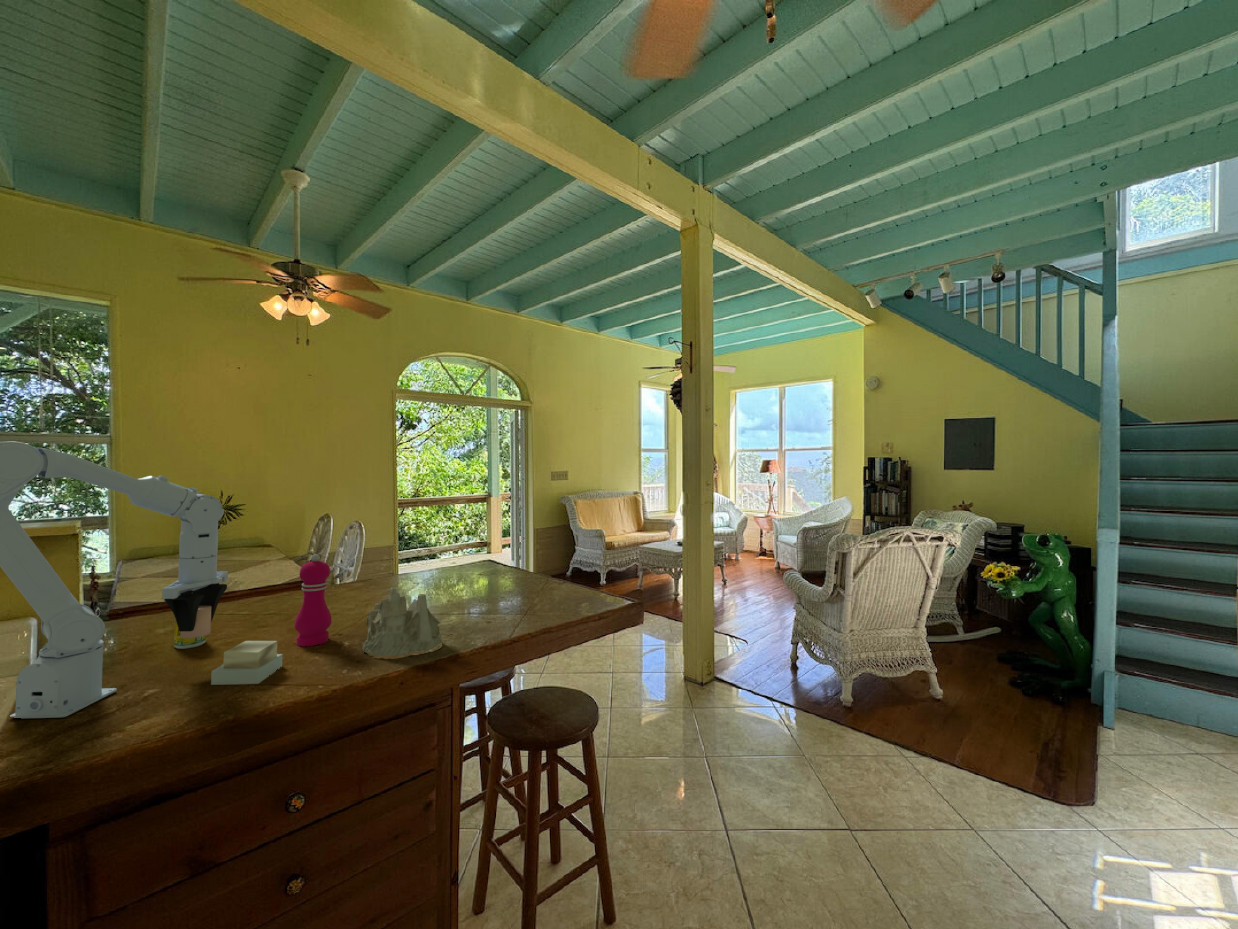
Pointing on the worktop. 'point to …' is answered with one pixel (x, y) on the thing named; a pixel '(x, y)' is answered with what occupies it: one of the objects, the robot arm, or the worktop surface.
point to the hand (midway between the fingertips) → (195, 626)
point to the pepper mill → (313, 604)
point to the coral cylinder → (200, 623)
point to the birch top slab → (250, 654)
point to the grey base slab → (245, 673)
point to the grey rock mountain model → (401, 627)
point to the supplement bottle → (186, 640)
